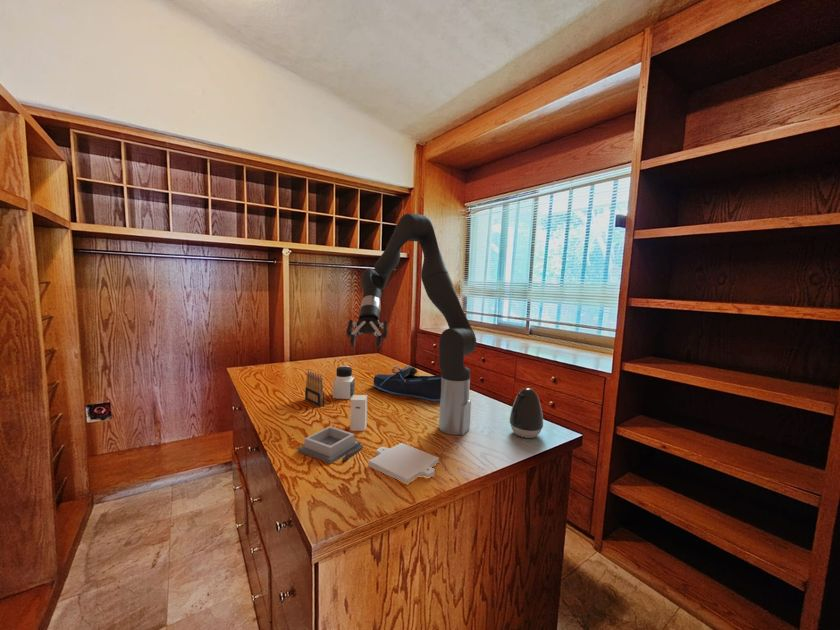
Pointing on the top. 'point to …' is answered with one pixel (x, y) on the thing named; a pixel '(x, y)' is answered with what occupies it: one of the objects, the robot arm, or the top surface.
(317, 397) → the pencil set
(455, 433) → the robot arm
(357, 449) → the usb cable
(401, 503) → the top surface
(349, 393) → the medicine bottle
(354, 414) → the charger
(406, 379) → the moccasin
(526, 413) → the dark grey egg shape
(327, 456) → the grey square tray
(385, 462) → the mounting plate
